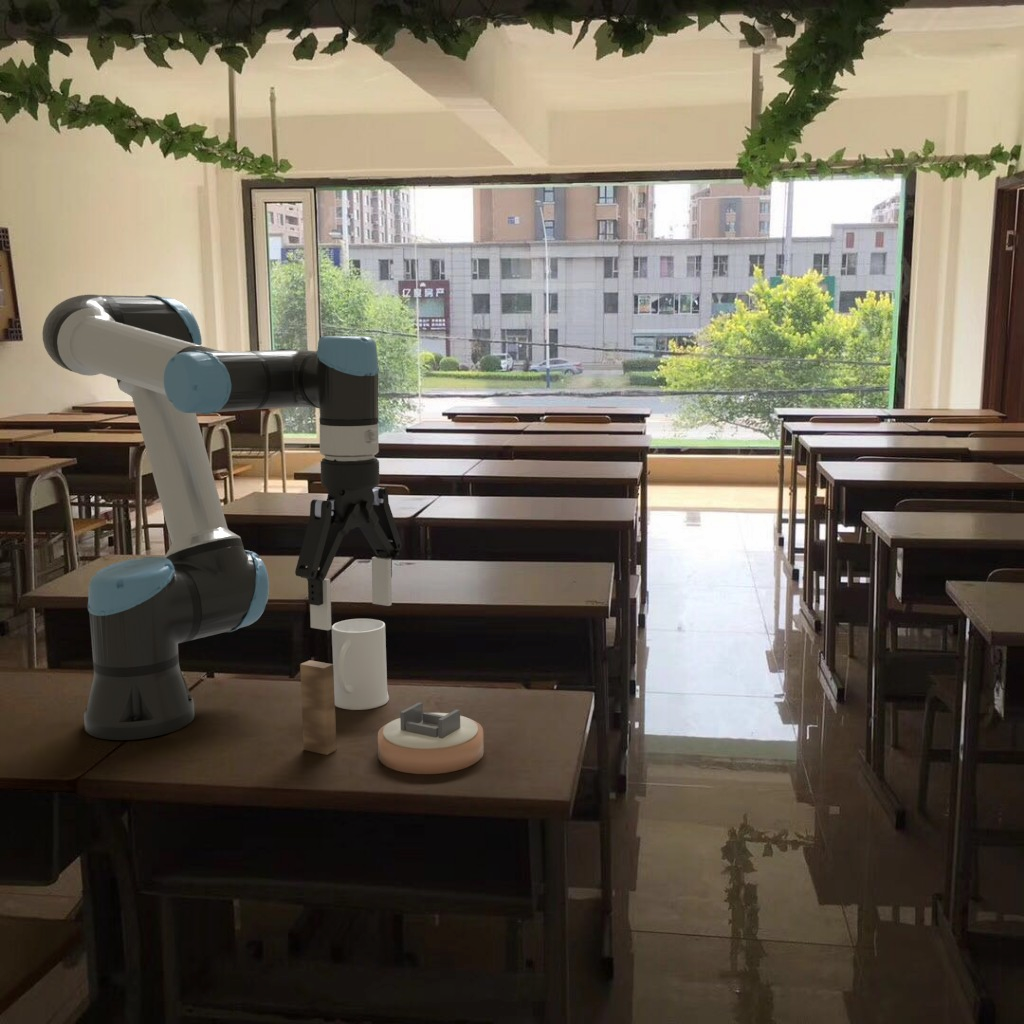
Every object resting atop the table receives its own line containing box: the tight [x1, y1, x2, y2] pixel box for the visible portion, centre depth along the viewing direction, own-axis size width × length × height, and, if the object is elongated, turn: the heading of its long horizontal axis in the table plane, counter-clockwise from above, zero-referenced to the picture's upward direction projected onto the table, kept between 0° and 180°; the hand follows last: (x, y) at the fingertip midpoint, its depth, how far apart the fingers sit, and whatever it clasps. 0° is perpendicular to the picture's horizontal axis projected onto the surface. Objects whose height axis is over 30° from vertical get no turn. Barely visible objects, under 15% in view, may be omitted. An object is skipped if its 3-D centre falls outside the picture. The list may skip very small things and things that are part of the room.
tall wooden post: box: [299, 659, 337, 756], centre depth 144 cm, size 4×2×12 cm, turn 61°
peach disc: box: [377, 702, 484, 775], centre depth 143 cm, size 14×14×6 cm
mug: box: [331, 618, 390, 711], centre depth 162 cm, size 12×8×12 cm
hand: (352, 616), depth 143 cm, fingers open, 13 cm apart
